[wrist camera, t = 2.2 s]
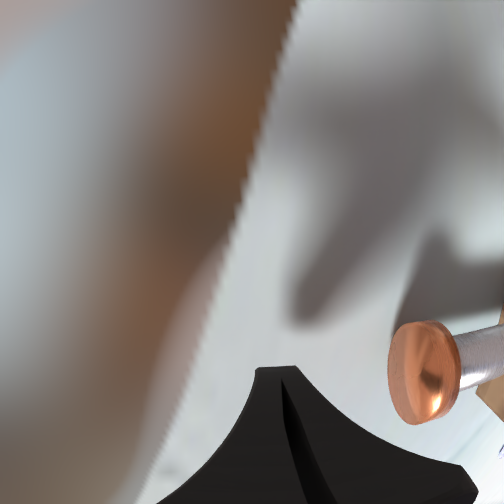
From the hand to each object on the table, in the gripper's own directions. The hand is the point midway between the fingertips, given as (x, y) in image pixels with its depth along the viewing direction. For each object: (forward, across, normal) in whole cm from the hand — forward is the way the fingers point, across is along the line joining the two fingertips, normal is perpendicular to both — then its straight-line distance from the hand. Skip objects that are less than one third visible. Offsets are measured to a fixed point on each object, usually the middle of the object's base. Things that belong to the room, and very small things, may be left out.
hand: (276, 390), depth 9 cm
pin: (+2, -11, 0) cm, 11 cm away
